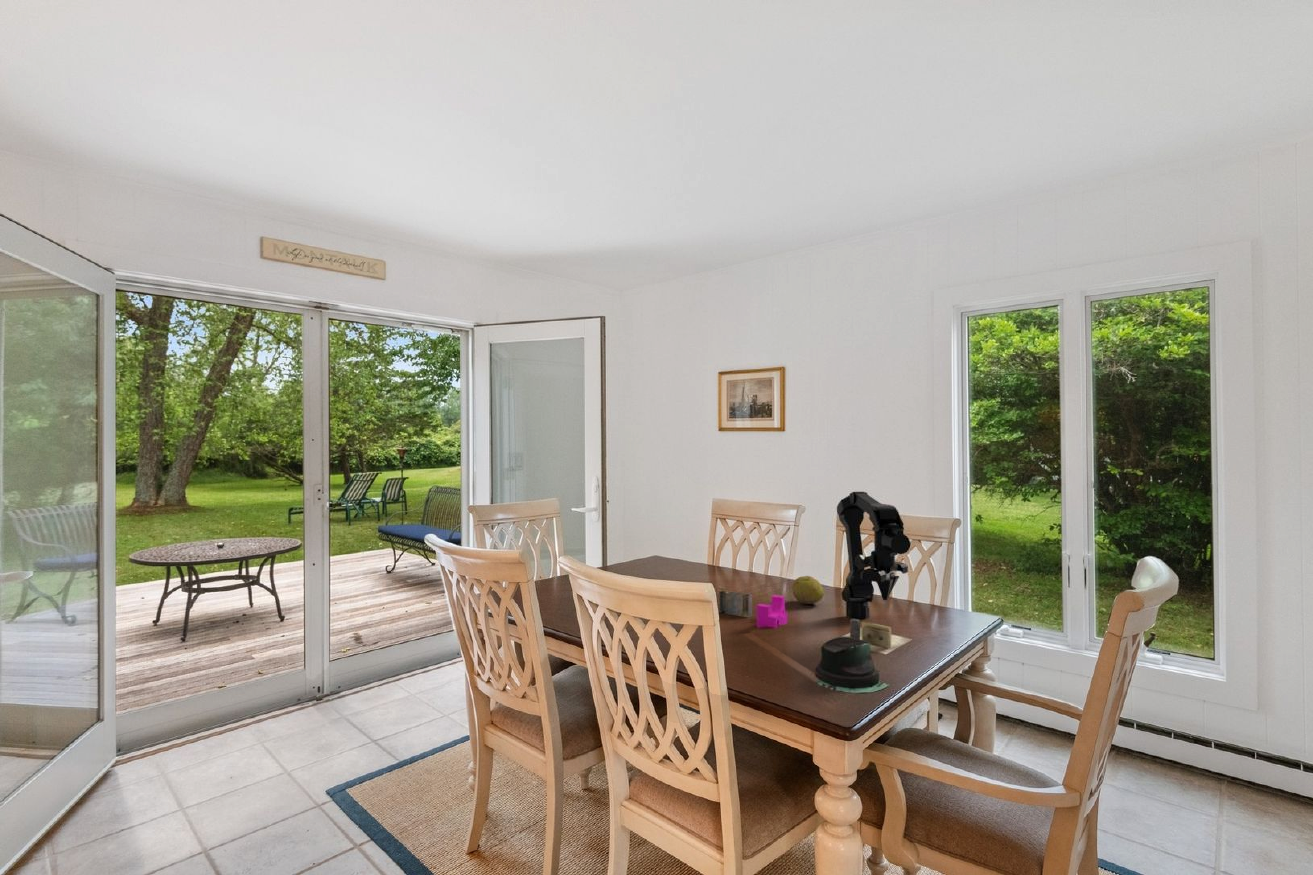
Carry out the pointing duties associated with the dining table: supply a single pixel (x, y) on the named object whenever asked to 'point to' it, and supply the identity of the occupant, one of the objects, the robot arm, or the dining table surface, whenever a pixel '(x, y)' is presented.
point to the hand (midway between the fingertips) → (885, 599)
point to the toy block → (772, 613)
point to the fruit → (807, 590)
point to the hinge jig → (875, 637)
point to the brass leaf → (877, 628)
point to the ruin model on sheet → (735, 603)
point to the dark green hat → (848, 666)
